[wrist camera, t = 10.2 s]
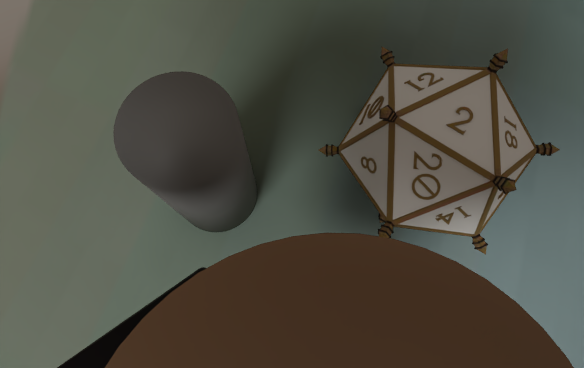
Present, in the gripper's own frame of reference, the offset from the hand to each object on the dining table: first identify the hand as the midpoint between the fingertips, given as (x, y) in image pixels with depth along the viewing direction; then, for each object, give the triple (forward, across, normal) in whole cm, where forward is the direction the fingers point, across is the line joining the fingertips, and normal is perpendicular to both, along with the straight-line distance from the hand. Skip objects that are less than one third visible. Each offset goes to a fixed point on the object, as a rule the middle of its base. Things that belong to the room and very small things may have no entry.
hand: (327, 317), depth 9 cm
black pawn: (+13, +6, +6) cm, 15 cm away
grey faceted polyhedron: (+15, -4, +4) cm, 16 cm away
